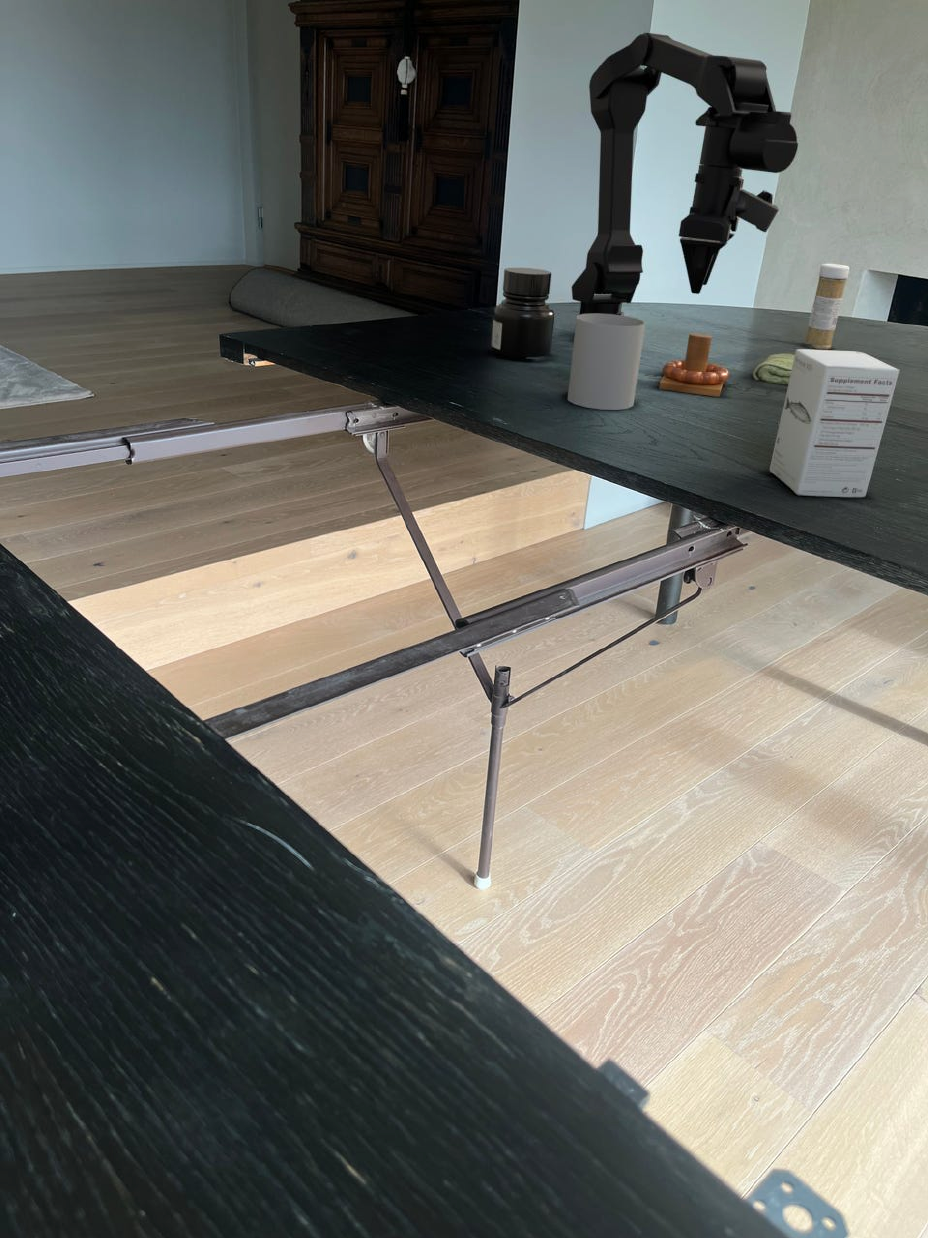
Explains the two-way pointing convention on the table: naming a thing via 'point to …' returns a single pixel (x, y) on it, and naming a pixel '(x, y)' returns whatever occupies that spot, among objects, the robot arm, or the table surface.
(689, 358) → the wooden peg stand
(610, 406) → the cup
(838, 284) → the sprinkles bottle
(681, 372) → the ring
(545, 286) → the ink bottle
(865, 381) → the white packaging box
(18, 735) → the table surface
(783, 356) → the washcloth
